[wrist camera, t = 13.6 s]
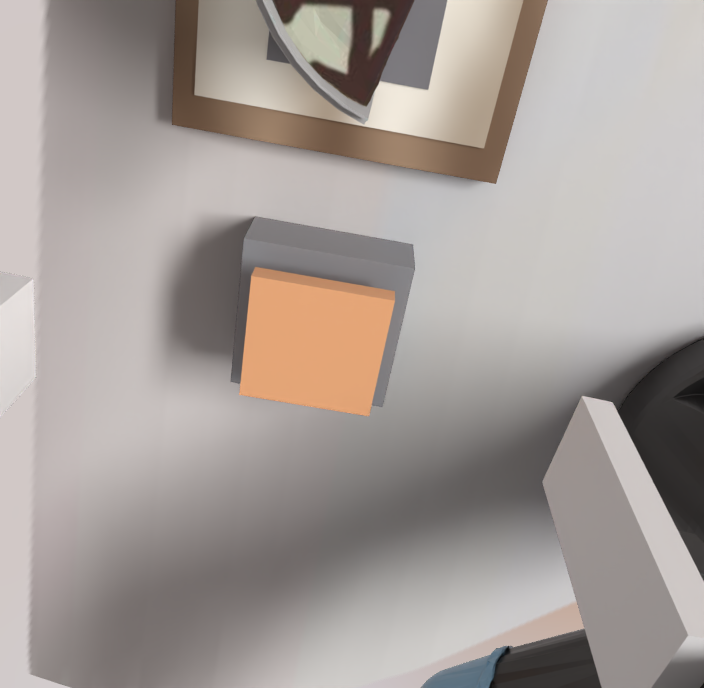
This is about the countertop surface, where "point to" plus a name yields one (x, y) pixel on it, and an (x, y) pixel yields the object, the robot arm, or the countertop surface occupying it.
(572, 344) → the countertop surface
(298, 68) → the food container
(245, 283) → the button housing
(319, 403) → the button
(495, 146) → the drawing board
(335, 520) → the countertop surface
